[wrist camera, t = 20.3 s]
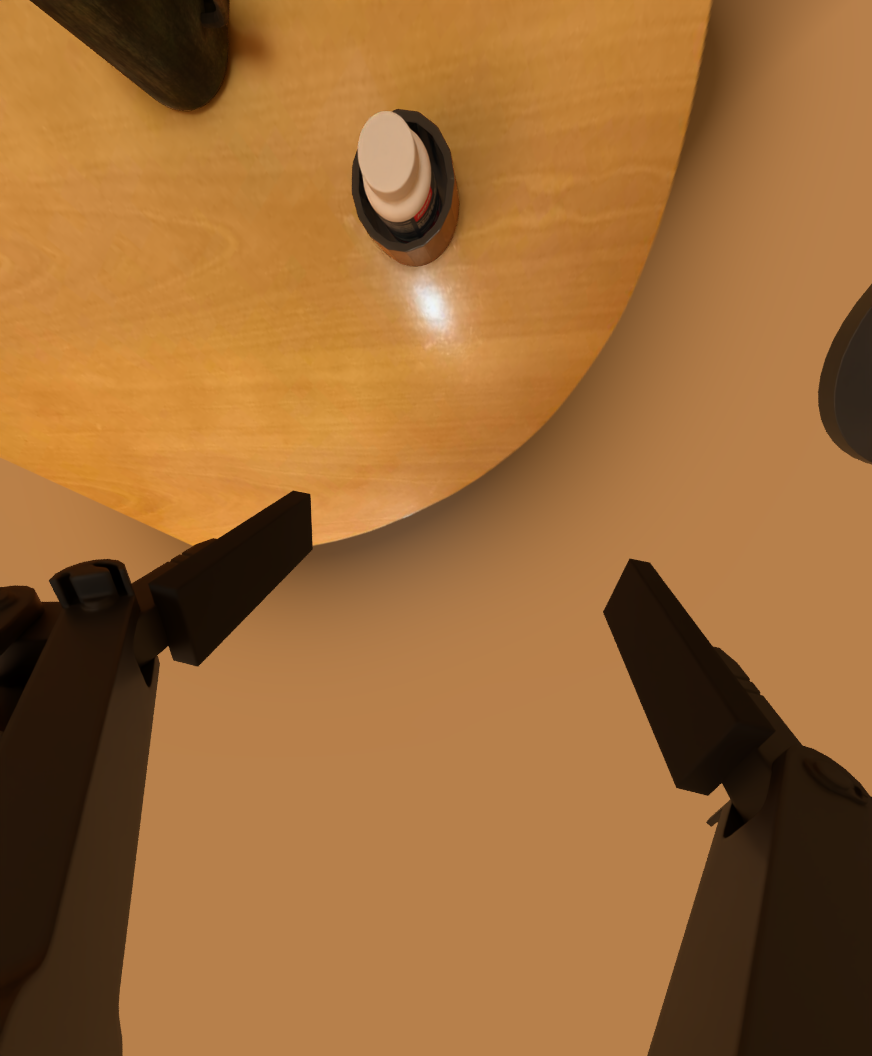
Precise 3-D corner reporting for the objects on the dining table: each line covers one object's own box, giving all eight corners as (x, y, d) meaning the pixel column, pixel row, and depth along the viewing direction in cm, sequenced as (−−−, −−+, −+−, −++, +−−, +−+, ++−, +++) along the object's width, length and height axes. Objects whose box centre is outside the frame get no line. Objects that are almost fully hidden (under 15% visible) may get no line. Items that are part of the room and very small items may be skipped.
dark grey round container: (467, 155, 29) (462, 116, 24) (450, 272, 32) (444, 258, 28) (374, 142, 29) (353, 102, 25) (368, 259, 33) (350, 243, 28)
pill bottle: (433, 252, 31) (414, 215, 24) (380, 237, 31) (343, 195, 24) (447, 177, 29) (432, 108, 21) (390, 161, 29) (353, 86, 21)
